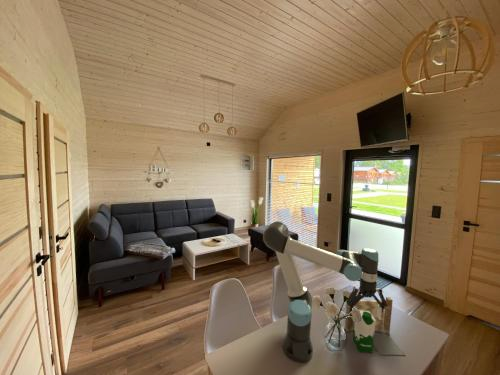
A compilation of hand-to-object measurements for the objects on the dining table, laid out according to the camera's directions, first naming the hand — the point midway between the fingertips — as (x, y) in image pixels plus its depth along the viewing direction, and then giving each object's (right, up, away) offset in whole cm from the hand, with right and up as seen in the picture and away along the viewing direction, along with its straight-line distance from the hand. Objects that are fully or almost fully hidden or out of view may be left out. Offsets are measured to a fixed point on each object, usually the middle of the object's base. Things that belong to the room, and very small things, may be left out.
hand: (365, 318), depth 112 cm
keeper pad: (+12, -16, +4) cm, 21 cm away
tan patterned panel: (+8, -15, +14) cm, 22 cm away
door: (+8, -15, +13) cm, 21 cm away
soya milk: (-1, -16, +2) cm, 17 cm away
